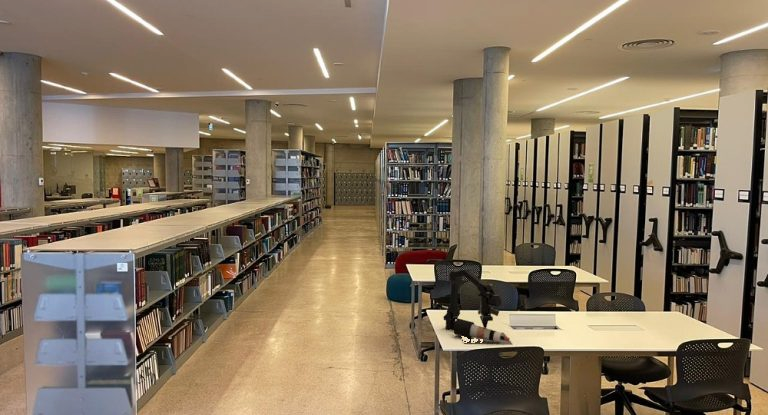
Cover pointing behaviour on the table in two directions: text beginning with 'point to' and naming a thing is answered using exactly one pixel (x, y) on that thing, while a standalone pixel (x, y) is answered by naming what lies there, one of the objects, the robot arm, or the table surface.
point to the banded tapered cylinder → (476, 331)
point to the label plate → (489, 341)
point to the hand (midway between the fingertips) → (485, 328)
